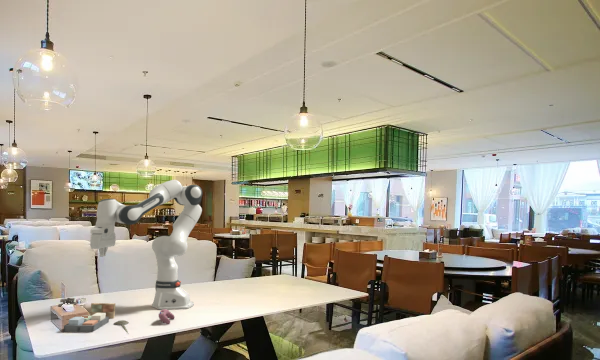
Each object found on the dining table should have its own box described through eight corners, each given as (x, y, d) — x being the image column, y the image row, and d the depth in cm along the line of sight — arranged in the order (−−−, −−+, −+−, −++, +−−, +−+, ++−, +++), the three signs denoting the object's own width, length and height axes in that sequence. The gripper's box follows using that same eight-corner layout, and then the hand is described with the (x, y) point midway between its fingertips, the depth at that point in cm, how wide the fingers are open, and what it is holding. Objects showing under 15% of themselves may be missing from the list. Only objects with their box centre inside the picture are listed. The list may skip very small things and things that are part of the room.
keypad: (108, 324, 170) (109, 316, 170) (92, 334, 155) (93, 325, 155) (81, 323, 169) (82, 316, 169) (63, 334, 154) (64, 325, 155)
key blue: (83, 323, 161) (84, 316, 162) (77, 327, 156) (78, 319, 157) (74, 323, 161) (75, 316, 161) (68, 327, 156) (68, 319, 156)
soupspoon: (127, 324, 174) (111, 327, 170) (127, 317, 174) (112, 319, 171) (135, 336, 156) (118, 339, 152) (135, 327, 156) (119, 330, 153)
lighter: (73, 317, 180) (75, 296, 181) (76, 318, 178) (78, 297, 179) (55, 320, 173) (57, 298, 174) (58, 321, 171) (60, 299, 172)
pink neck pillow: (166, 322, 181) (161, 309, 182) (175, 317, 182) (170, 305, 182) (161, 328, 172) (155, 314, 172) (170, 323, 172) (164, 310, 173)
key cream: (105, 319, 169) (105, 312, 169) (100, 322, 164) (100, 315, 164) (96, 319, 168) (96, 312, 169) (90, 322, 163) (91, 315, 164)
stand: (116, 319, 178) (117, 303, 179) (112, 321, 174) (113, 304, 175) (90, 319, 177) (92, 302, 178) (86, 321, 173) (88, 304, 174)
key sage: (91, 322, 168) (92, 315, 168) (85, 325, 163) (86, 318, 163) (82, 322, 168) (83, 315, 168) (76, 325, 163) (77, 318, 163)
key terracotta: (97, 327, 162) (98, 320, 162) (91, 330, 157) (92, 323, 157) (88, 327, 161) (88, 320, 162) (82, 330, 156) (82, 323, 157)
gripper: (107, 228, 201) (105, 254, 199) (88, 229, 180) (86, 258, 179) (119, 229, 201) (117, 254, 200) (101, 230, 181) (99, 258, 179)
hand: (102, 256), depth 189 cm, fingers closed
